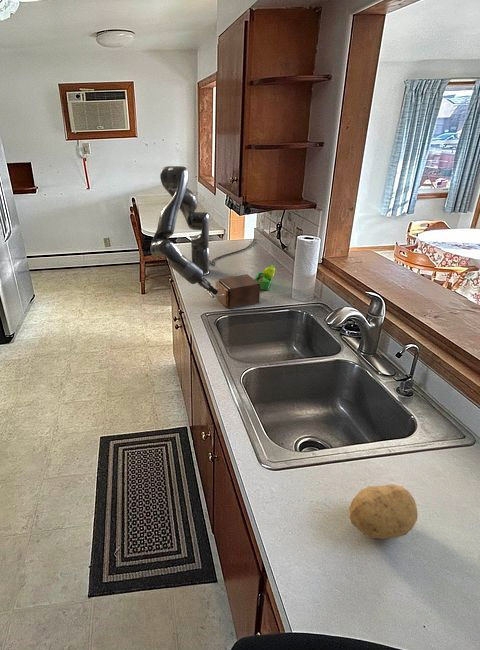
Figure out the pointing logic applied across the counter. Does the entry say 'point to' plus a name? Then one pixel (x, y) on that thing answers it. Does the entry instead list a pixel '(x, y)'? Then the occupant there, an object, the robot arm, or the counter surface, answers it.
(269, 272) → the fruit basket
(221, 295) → the drawer
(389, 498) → the potato
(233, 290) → the cabinet
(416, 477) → the counter surface
